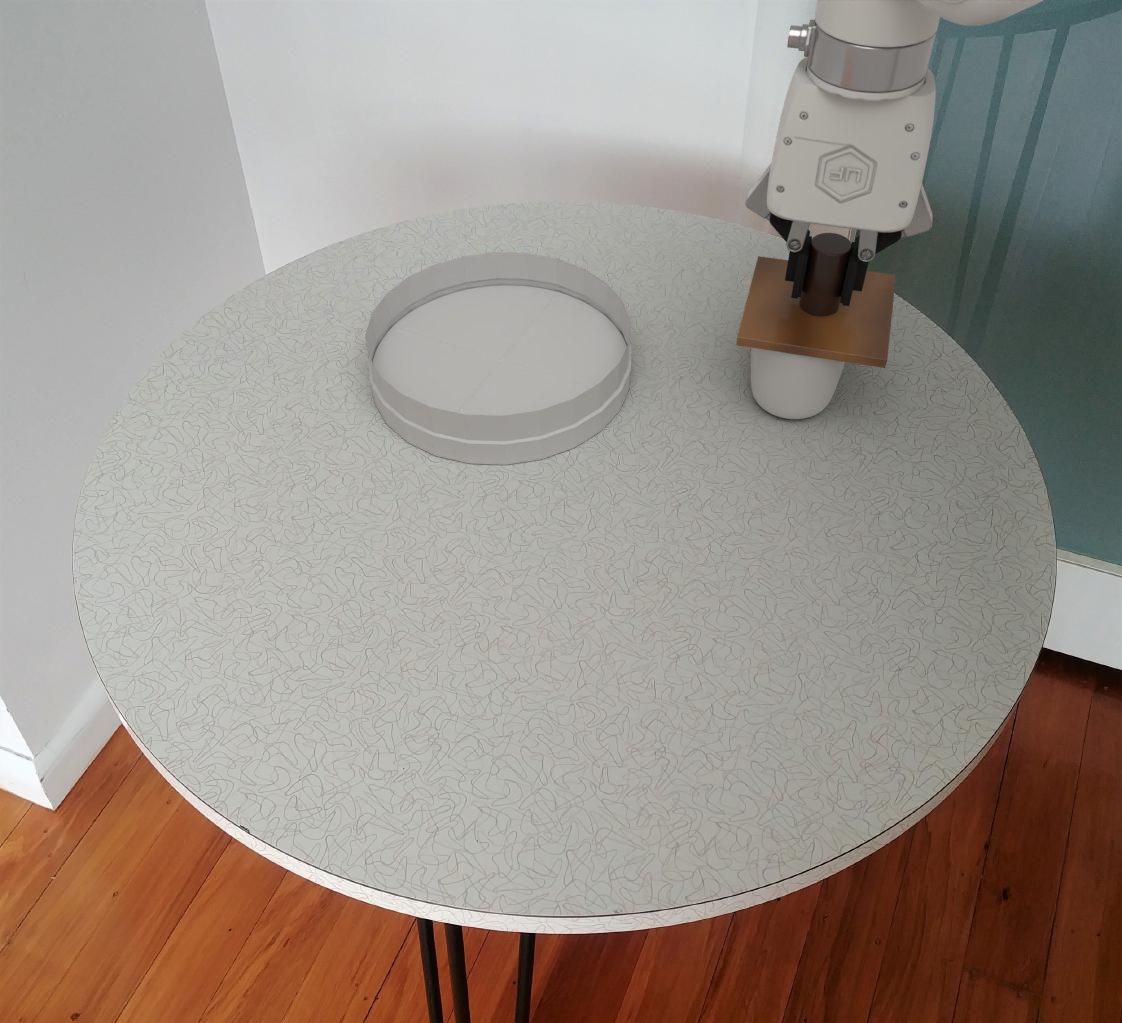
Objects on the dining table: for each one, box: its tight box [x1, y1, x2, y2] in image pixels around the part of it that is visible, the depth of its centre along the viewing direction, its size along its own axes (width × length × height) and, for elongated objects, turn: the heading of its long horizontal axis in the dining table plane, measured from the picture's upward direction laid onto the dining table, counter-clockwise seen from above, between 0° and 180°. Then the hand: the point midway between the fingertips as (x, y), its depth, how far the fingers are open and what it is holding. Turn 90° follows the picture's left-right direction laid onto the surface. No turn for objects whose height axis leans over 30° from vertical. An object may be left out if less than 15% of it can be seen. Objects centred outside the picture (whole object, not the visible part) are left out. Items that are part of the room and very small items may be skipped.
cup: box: [750, 347, 847, 420], centre depth 85 cm, size 11×8×8 cm
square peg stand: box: [735, 232, 897, 369], centre depth 80 cm, size 11×11×6 cm
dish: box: [365, 251, 633, 466], centre depth 89 cm, size 22×22×5 cm
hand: (822, 289), depth 81 cm, fingers closed on square peg stand, 3 cm apart
